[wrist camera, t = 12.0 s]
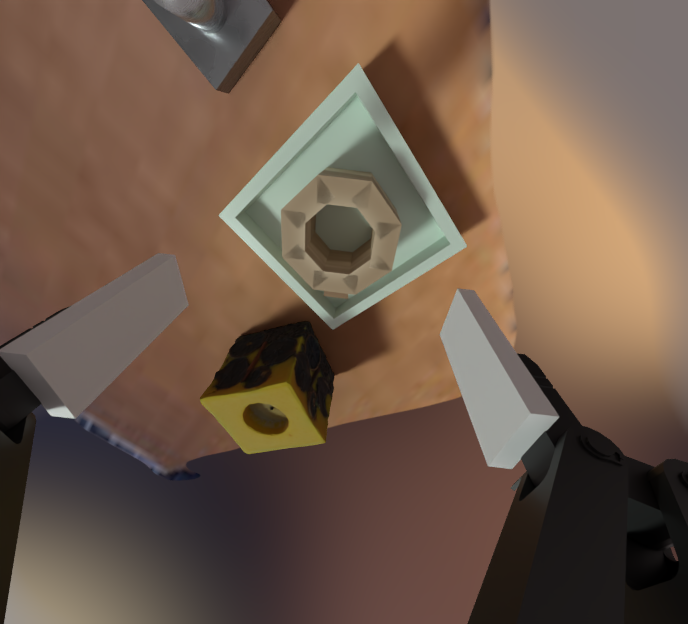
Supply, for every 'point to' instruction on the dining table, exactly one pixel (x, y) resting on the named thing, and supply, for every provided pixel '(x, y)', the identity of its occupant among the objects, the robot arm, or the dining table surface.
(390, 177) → the tray
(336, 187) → the ring
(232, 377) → the yellow cube with holes
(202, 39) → the grey peg stand
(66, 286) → the dining table surface
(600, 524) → the robot arm
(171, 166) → the dining table surface
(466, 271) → the dining table surface
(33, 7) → the dining table surface
